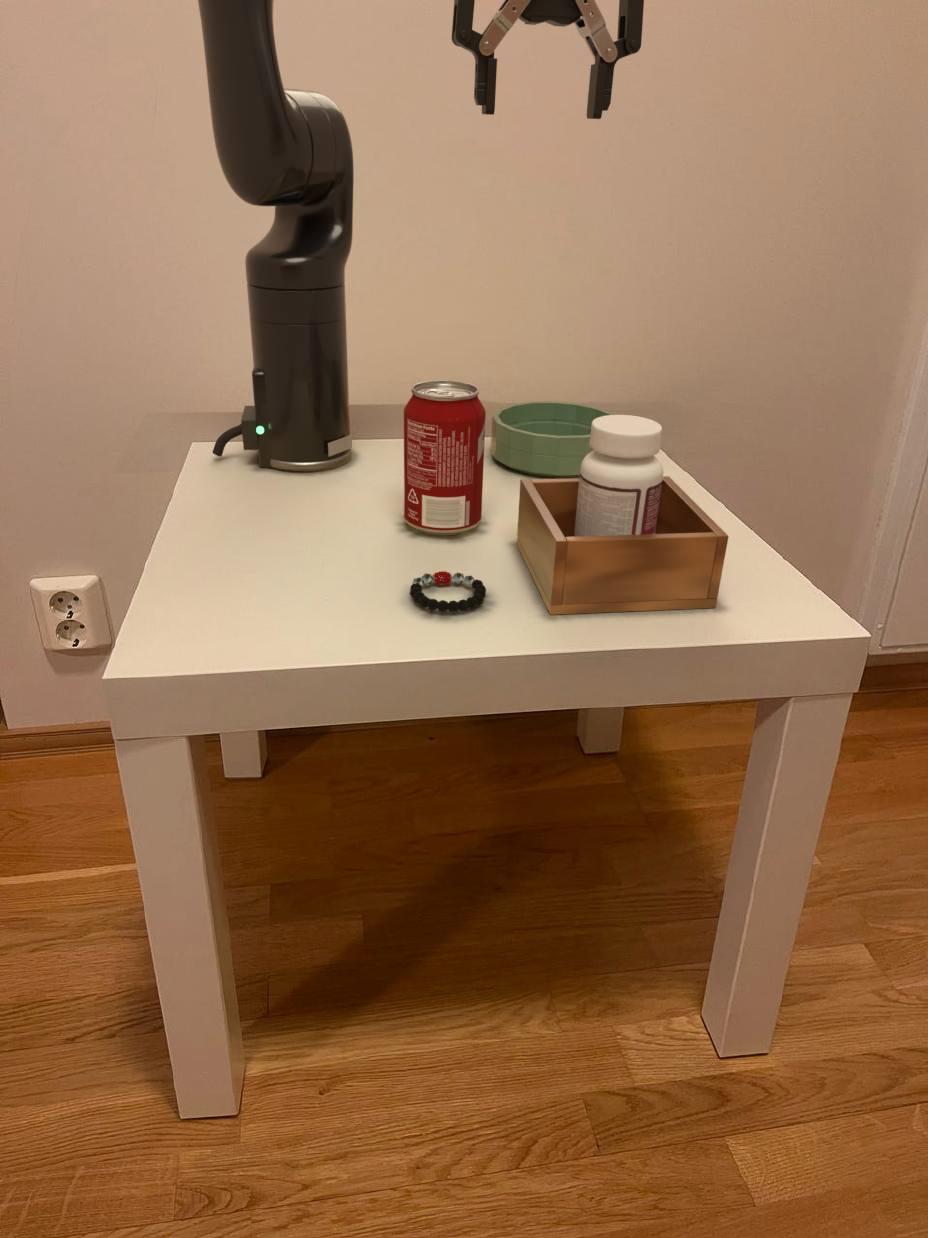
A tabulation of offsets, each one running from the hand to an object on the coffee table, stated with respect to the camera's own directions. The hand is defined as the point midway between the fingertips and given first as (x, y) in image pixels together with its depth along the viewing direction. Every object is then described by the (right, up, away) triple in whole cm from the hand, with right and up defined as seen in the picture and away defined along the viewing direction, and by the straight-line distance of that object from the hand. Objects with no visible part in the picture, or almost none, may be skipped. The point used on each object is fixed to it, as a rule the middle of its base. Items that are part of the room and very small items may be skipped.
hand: (540, 116), depth 71 cm
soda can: (-8, -32, +8) cm, 34 cm away
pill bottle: (+5, -35, 0) cm, 36 cm away
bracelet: (-7, -38, -4) cm, 39 cm away
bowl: (+3, -23, +25) cm, 34 cm away
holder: (+5, -36, 0) cm, 36 cm away
